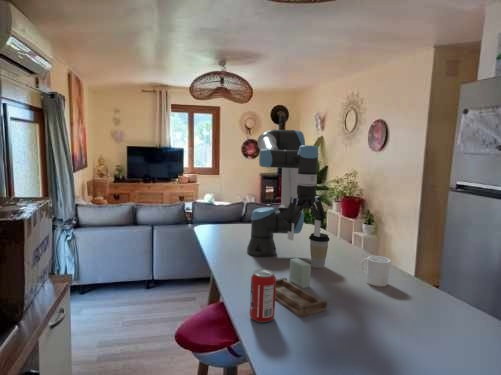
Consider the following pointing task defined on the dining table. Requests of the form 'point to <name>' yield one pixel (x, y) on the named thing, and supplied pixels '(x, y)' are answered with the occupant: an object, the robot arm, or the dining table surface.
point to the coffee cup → (318, 249)
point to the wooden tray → (297, 299)
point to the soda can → (262, 295)
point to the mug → (377, 270)
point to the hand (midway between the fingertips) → (304, 237)
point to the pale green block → (300, 272)
